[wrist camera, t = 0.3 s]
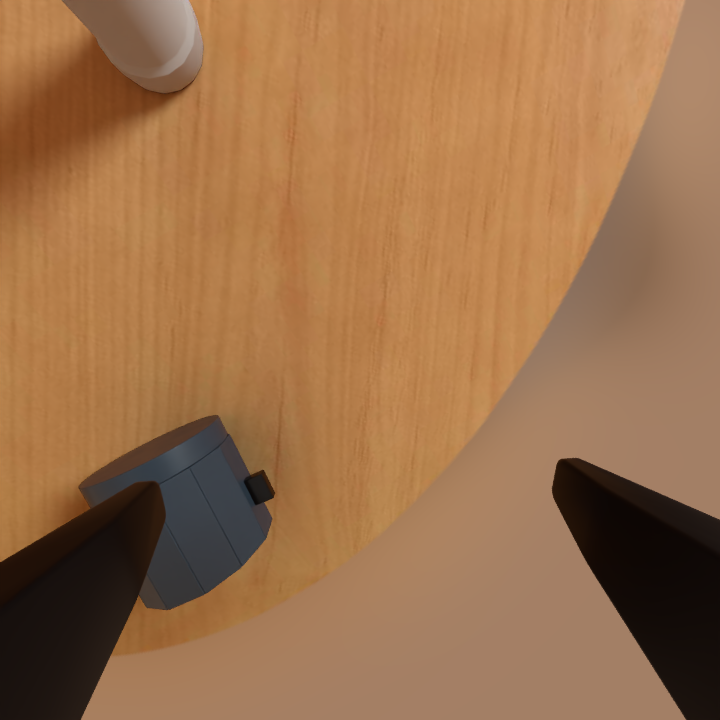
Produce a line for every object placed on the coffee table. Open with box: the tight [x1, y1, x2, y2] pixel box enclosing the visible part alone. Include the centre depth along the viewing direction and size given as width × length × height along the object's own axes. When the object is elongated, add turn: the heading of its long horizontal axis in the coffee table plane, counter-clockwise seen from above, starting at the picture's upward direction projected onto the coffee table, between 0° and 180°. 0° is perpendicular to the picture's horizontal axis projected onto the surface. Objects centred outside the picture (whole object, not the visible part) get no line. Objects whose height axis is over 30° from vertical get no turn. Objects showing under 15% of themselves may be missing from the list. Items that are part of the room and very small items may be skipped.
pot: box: [79, 415, 275, 610], centre depth 20 cm, size 7×9×7 cm
